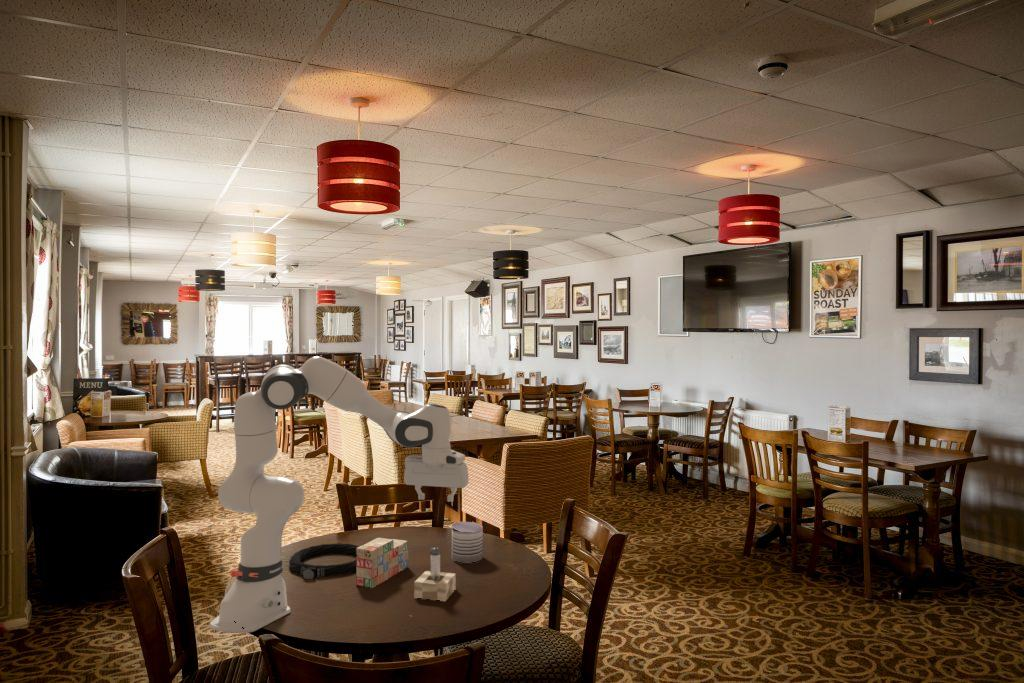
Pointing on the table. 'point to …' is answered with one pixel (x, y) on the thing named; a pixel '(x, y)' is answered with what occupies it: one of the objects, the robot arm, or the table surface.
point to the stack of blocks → (380, 561)
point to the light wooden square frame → (435, 586)
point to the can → (467, 542)
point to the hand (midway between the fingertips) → (435, 500)
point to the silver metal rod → (435, 564)
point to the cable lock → (322, 570)
